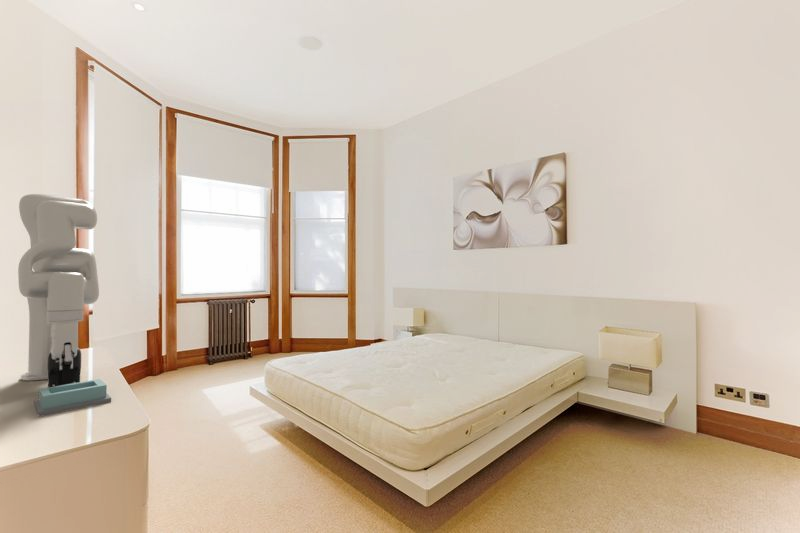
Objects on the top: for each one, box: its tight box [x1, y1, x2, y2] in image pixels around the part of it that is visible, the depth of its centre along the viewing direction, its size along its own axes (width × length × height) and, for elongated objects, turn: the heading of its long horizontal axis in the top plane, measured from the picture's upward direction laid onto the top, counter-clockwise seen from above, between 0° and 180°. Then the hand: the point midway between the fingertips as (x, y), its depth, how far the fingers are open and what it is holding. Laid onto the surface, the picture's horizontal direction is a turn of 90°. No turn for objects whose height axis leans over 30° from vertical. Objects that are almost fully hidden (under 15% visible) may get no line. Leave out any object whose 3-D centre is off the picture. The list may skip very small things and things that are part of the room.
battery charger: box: [47, 347, 82, 387], centre depth 102 cm, size 7×4×11 cm, turn 130°
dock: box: [33, 378, 112, 418], centre depth 91 cm, size 12×13×4 cm
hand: (64, 381), depth 102 cm, fingers closed on battery charger, 4 cm apart
